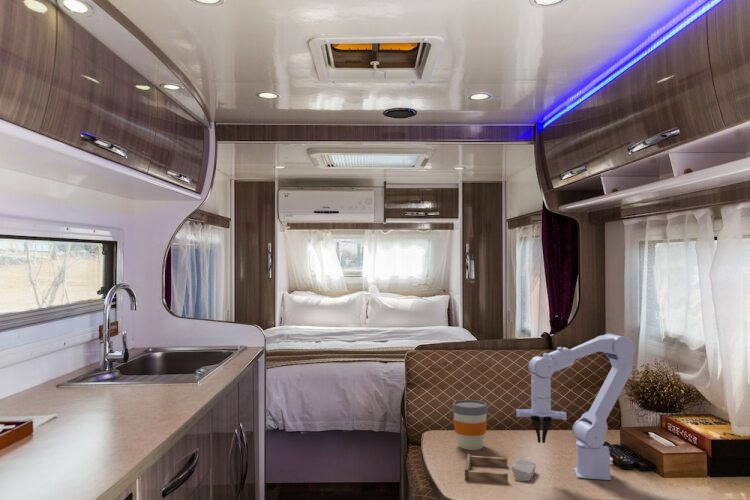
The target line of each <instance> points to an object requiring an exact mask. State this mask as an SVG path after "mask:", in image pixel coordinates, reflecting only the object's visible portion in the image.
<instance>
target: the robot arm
mask: <svg viewBox="0 0 750 500" xmlns="http://www.w3.org/2000/svg"><path fill="white" fill-rule="evenodd" d="M636 349H637V348H636V346H635V344H634V342H633V340H632V339H631V338H630V337H628V336H624V335H619V334H618V335H617V334H613V333H605V334H603V335H602V334H601V335H598V336H596V337H595V338H592V339H590V340H588V341H586V342H583V343H581V344H578V345H576V346H574V347H572V348H568V347H564V346H558V347H556V350H553V351H551V352H548V353H547V352H545V353H543V354H542V356H539V355H538V356H536V355H535V356H534V357H532V358H531V359H530V361H529V363H528V365H527V368H528V371H529V372H530V374H531V375H530V376H531V377H530V379H531V380H530V381H531V382H530V384H531V385H530V387H531V388H530V391H531V393H530V395H531V400H530V401H531V402H530V404H531V407H530V408H525V409H524V408H522V409H521V408H520V409H519V408H516V418H517V417H518V418H521V417H523V418H524V417H525V418H530V421H531V422H532V424H533V428H534V430H535V433H536V437H537V443H543V444H545V443H546V439H547V435H548V431H549V429H550V427H551V425H552V422H553V420H554V419H555V420H562V421H566V420H567V411H559V410H553V409H552V397H551V396H552V393H551V392H552V390H551V389H552V388H551V387H552V386H551V385H552V381H551V376H553V374H554V373H555V372H558V371H561V370H563V369H566V368H568V367H570V366H573V365H574V363H575V361H576V360H577V359H580V358H583V357H586V356H589V355H592V354H595V353H598V352H599V353H600V352H601V353H604V354H605V356H606V357H607V358H608V359H609V361H610V365H611V369H610V371H608V374H607V376H606V378H605V379H604V382H603V384H602V385H601V387H600V389H599V391H598V393H597V394H596V396H595V399H594V400H593V402H592V404H591V406H590V407H589V410H588V411H586V412H584V413H583V414H582V415H581V416H580V418H578V419H577V420H576V421H575V422H574V423H573V426H572V430H571V431H572V434H573V435H574V437H575V439H576V442H575V444H576V447H575V448H576V449H575V450H576V467H574V468H573V471H574V472H575V474H576V477H577V479H578V478H579V479H588V480H590V479H591V480H605V481H611V480H612V477H611V454H610V448H609V446H608V445H607V446H605V445H604V443H605V441H606V435H607V431H608V427H609V426H608V424H607V419H608V417H609V415H610V413H611V411H612V410H613V408H614V406H615V404H616V402H617V400H618V399H619V397H620V394H621V393H622V391H623V389H624V388H625V385H626V383H627V381H628V379H629V378H630V376H631V373H632V371H633V369H634V356H635V353H636V351H637V350H636ZM541 421H542V423H541ZM541 424H542V425H541ZM541 427H542V431H540V430H541ZM541 432H542V433H541Z"/></svg>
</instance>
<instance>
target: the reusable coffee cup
mask: <svg viewBox="0 0 750 500" xmlns="http://www.w3.org/2000/svg"><path fill="white" fill-rule="evenodd" d="M452 412H453V419H452V420H453V426H454V433H456V440H457V447H459V448H460V447H461V448H460V449H463V448H464V449H463V450H471V451H473V450H476V451H477V450H480V449H482V448H484V443H485V434H486V433H487V427H488V426H487V424H488V419H487V416H488V415H487V414H488V412H489V410H488V404H487V403H486V402H485V401H482V400H477V399H476V400H474V399H462V400H455V401H453V403H452Z"/></svg>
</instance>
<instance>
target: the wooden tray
mask: <svg viewBox="0 0 750 500" xmlns="http://www.w3.org/2000/svg"><path fill="white" fill-rule="evenodd" d="M471 465H472V466H473V465H477V466H488V467H489V466H490V467H502V468H505V467H506V468H507V467H508V458H507V457H499V456H498V457H497V456H483V455H472V454H471V453H467V455H466V462H465V466H464V480H465V481H477V482H490V483H503V484H504V483H506V484H508V483H509V478H508V477H509V476H508V475H509V473H508V472H498V471H495V472H494V471H482V470H480V471H479V470H470V469H471Z"/></svg>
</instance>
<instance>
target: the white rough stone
mask: <svg viewBox="0 0 750 500" xmlns="http://www.w3.org/2000/svg"><path fill="white" fill-rule="evenodd" d="M536 466H537V465H536V463H535V462H533V461H529V460H527V459H524V458H521V457H518V458H517V459H516V460H515V461H514V462H513V464H512V466H511V471H512V474H513V477H514V479H515V481H519V482H530V480H532V478H533V476H534V474H535V473H536Z"/></svg>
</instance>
